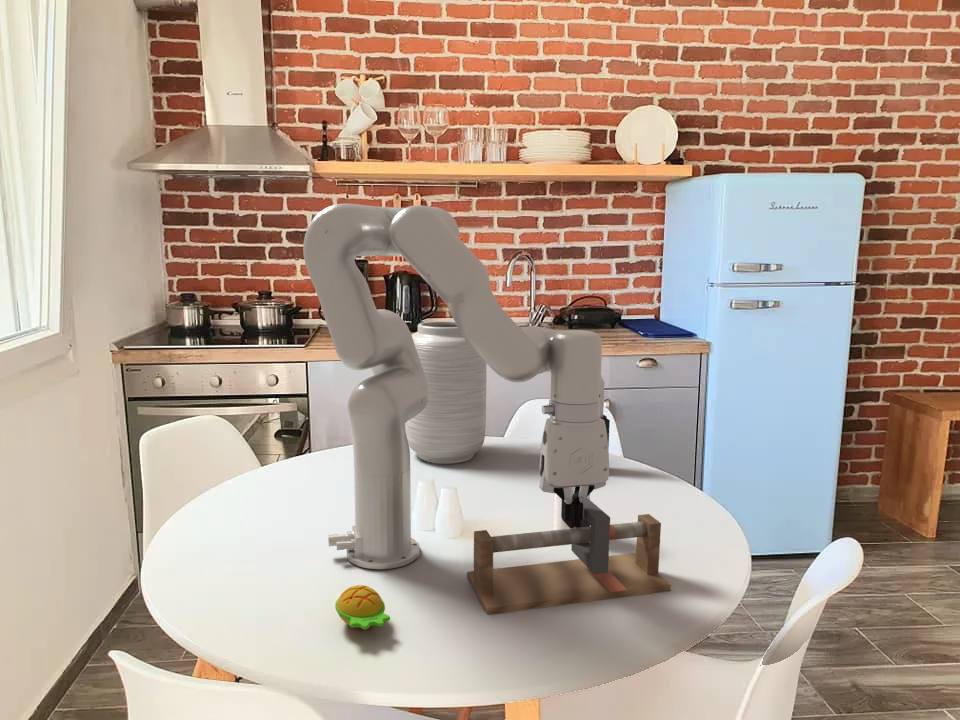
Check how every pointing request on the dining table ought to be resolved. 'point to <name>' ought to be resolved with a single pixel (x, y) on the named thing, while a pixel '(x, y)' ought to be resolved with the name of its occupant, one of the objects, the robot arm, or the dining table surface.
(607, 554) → the collar
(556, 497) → the can
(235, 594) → the dining table surface
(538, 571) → the rail
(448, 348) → the vase
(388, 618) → the toy pineapple
